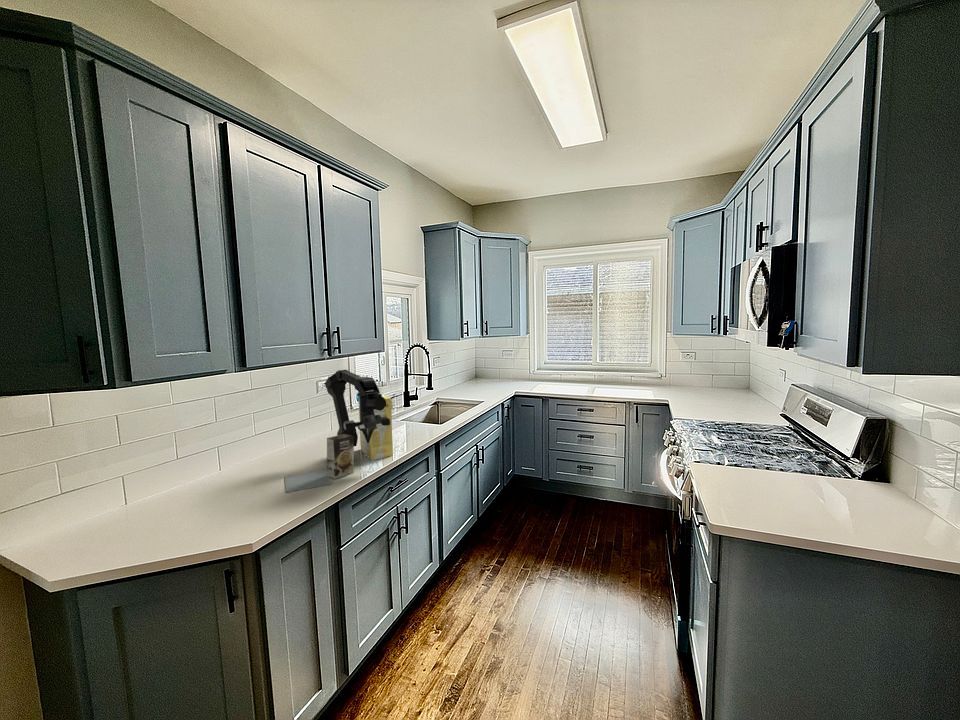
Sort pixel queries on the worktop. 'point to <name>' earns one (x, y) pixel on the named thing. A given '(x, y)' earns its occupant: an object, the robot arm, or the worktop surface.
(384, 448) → the pasta box
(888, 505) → the worktop surface
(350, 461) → the coffee box
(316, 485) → the mat
